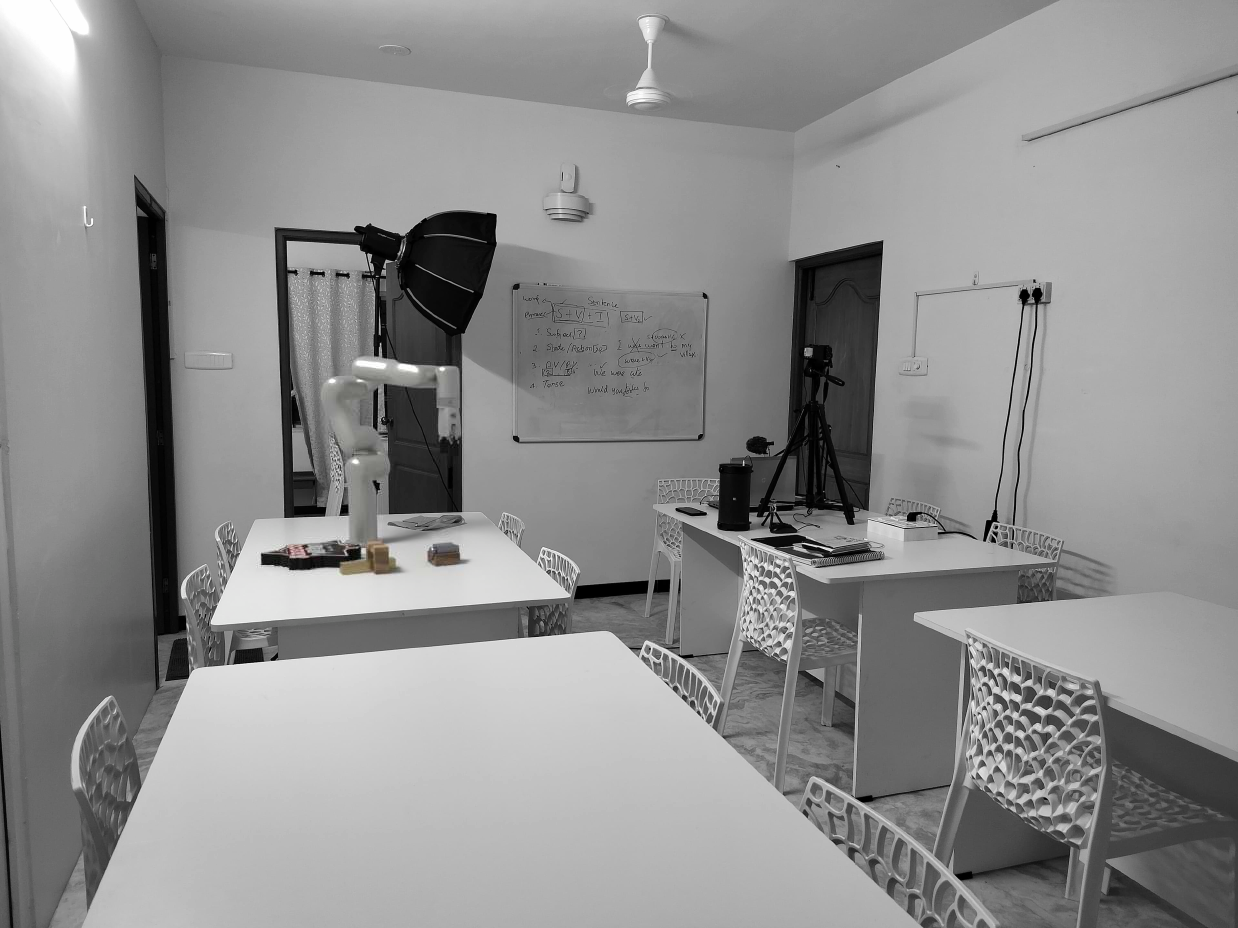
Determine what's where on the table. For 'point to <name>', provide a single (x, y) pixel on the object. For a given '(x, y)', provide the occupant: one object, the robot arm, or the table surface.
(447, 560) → the v block
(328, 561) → the wall plaque
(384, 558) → the wooden arch block
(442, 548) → the grey motor
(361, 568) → the bar
